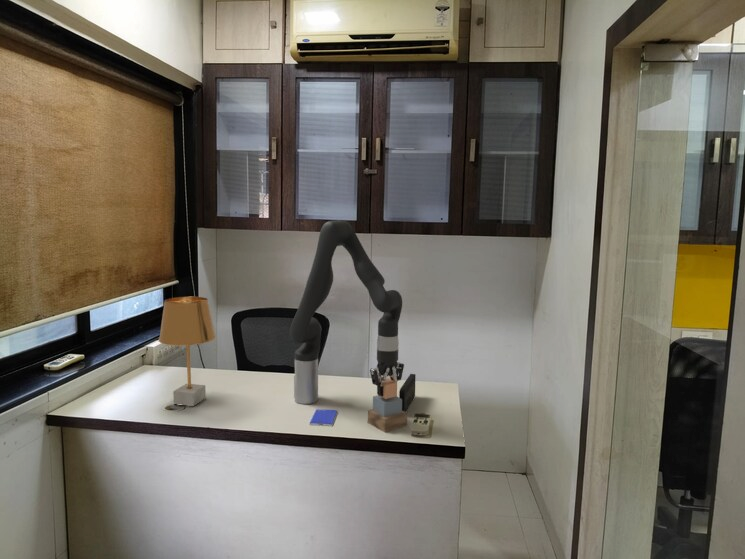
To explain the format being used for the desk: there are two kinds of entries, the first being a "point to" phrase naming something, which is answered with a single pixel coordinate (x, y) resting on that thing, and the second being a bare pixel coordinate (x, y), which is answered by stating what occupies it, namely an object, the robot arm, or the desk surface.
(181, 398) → the lamp
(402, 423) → the walnut base block
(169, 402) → the desk surface
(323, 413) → the hard drive
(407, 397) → the nameplate
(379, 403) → the slate middle block
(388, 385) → the terracotta cube
